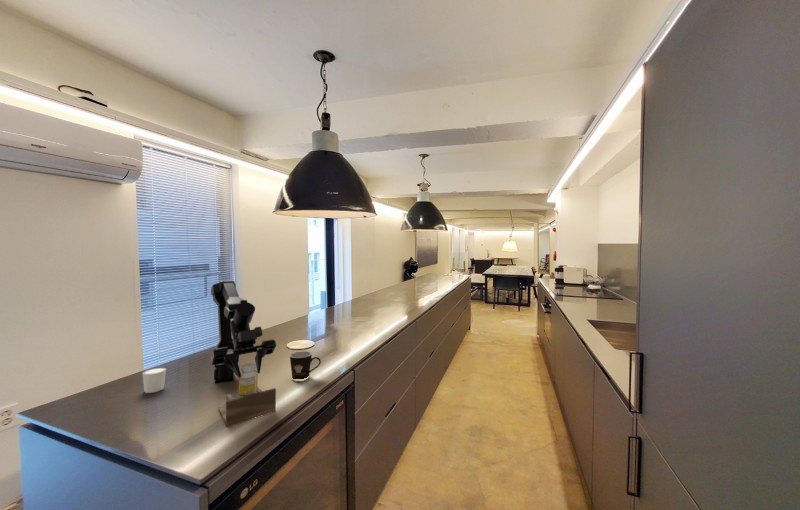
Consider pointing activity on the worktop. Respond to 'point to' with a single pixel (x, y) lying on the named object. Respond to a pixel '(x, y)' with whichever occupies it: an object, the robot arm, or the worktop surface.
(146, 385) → the white cup
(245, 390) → the supplement bottle
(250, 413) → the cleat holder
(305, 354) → the coffee mug
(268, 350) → the robot arm
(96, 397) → the worktop surface
